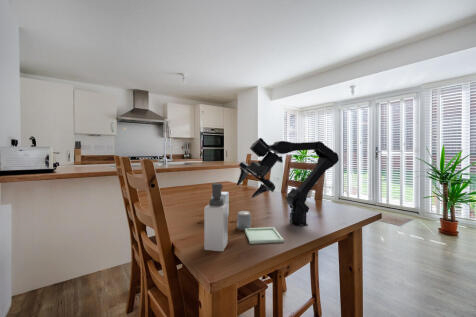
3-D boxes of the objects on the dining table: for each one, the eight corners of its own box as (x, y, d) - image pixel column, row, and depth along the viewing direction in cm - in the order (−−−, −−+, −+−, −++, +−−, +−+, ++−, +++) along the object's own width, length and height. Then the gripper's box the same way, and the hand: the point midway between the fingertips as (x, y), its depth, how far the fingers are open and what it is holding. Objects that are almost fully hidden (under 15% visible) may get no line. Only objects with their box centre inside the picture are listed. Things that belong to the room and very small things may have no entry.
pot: (249, 225, 96) (249, 210, 96) (252, 230, 90) (252, 214, 90) (236, 225, 95) (236, 211, 95) (238, 230, 89) (238, 215, 89)
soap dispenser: (228, 240, 79) (229, 181, 79) (222, 251, 71) (223, 185, 70) (212, 239, 80) (212, 181, 80) (204, 249, 72) (204, 184, 71)
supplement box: (225, 220, 102) (225, 194, 102) (210, 219, 104) (210, 193, 103) (229, 216, 109) (229, 191, 109) (215, 215, 111) (215, 191, 110)
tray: (273, 229, 91) (273, 227, 91) (283, 242, 78) (283, 239, 78) (244, 230, 89) (244, 228, 89) (249, 243, 77) (249, 240, 77)
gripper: (246, 145, 93) (223, 173, 91) (280, 168, 83) (254, 199, 81) (253, 156, 102) (232, 181, 101) (284, 177, 92) (262, 205, 91)
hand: (244, 191), depth 93 cm, fingers open, 9 cm apart
